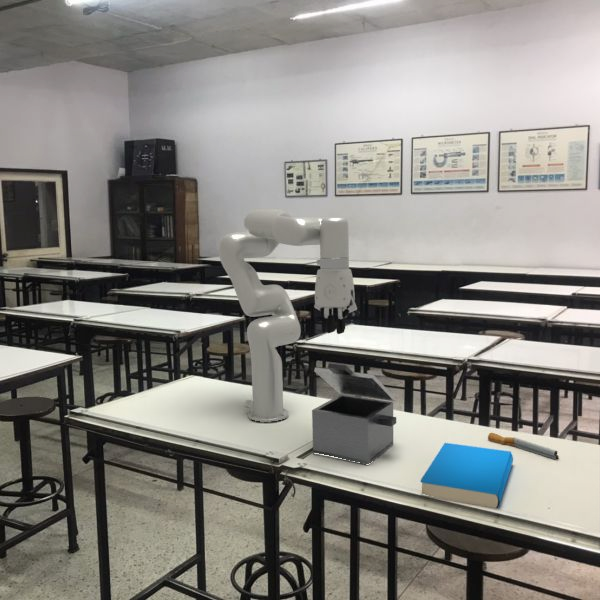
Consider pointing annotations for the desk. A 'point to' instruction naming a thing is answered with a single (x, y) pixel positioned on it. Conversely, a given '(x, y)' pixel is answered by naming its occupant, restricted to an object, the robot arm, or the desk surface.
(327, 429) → the grey open box
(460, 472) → the book
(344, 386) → the cooker lid
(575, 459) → the desk surface
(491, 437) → the orange and grey rod
